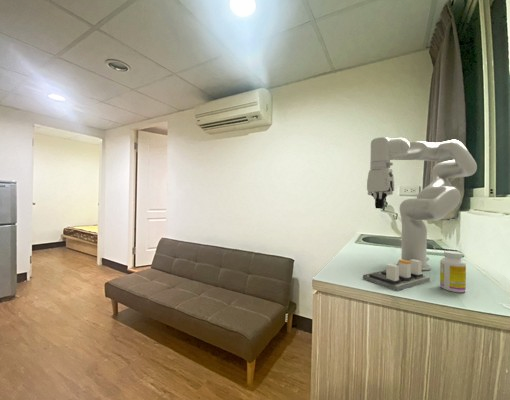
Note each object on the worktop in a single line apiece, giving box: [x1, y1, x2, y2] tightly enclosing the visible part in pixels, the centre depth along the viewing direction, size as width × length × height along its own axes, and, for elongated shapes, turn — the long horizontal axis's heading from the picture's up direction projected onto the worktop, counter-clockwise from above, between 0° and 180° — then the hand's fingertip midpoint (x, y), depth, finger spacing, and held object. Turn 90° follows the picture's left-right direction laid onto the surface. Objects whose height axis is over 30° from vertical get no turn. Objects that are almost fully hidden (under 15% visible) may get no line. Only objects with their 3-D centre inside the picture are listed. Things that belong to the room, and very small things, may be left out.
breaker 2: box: [410, 259, 423, 275], centre depth 87 cm, size 2×3×5 cm
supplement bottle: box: [439, 250, 467, 293], centre depth 78 cm, size 7×7×13 cm
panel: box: [362, 269, 431, 292], centre depth 86 cm, size 21×13×2 cm, turn 118°
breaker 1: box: [385, 263, 399, 281], centre depth 80 cm, size 2×3×5 cm
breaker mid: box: [398, 258, 411, 278], centre depth 84 cm, size 2×3×6 cm
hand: (379, 208), depth 99 cm, fingers closed
